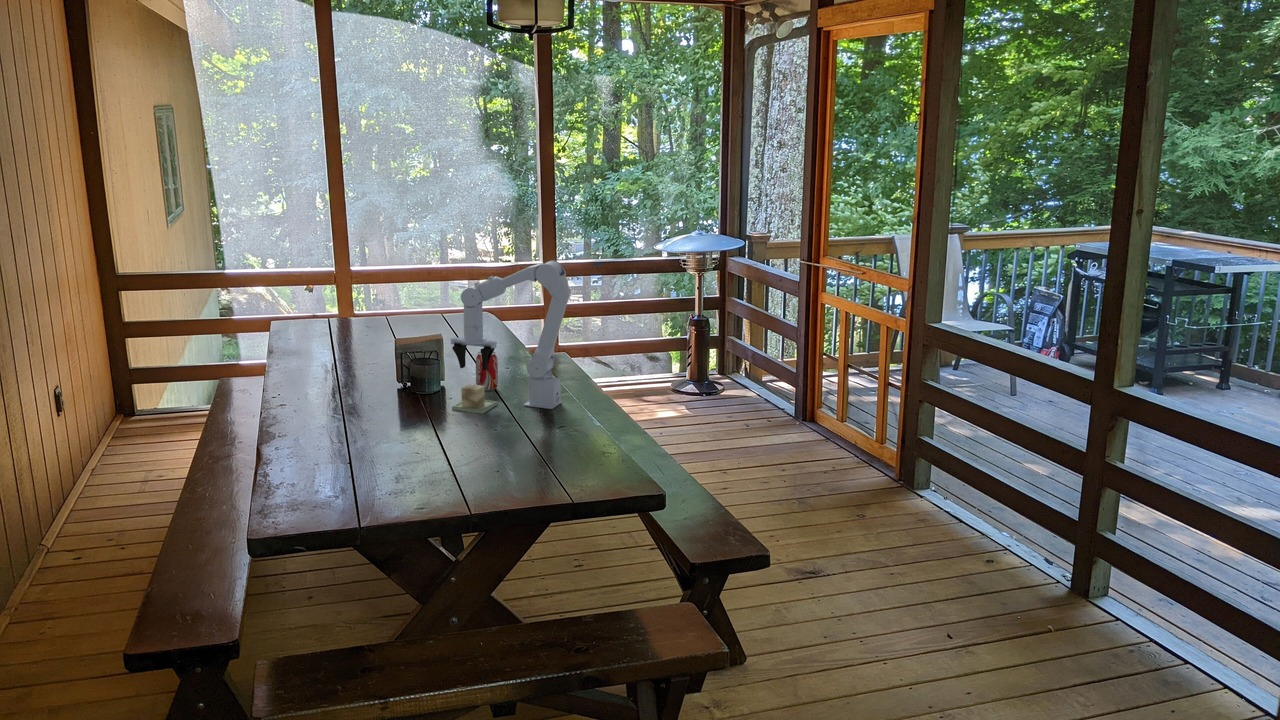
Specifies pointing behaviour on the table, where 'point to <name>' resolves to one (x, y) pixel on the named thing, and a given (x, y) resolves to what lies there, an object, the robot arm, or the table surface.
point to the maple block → (473, 396)
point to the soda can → (487, 373)
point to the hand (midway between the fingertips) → (473, 368)
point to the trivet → (482, 410)
